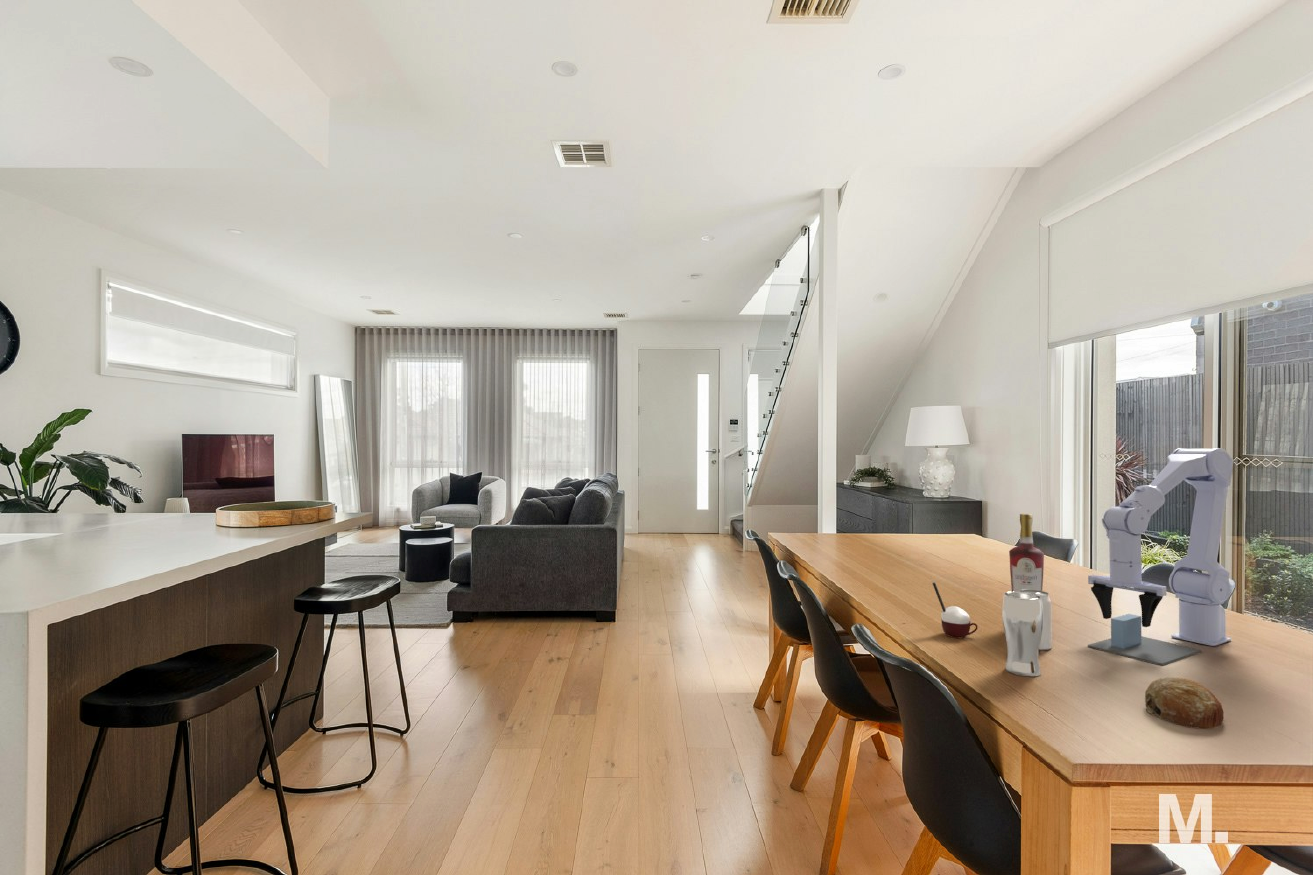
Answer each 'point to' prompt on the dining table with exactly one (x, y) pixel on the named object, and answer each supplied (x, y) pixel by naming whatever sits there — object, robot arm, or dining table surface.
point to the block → (1126, 631)
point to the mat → (1149, 650)
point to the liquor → (1026, 560)
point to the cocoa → (954, 620)
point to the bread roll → (1183, 703)
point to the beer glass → (1023, 632)
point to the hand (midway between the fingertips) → (1126, 622)
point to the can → (1044, 618)
